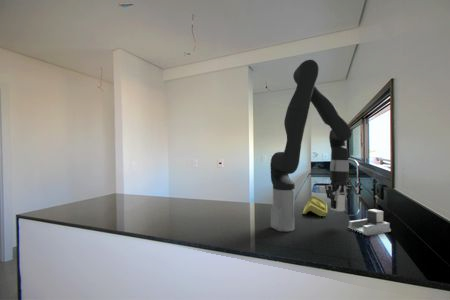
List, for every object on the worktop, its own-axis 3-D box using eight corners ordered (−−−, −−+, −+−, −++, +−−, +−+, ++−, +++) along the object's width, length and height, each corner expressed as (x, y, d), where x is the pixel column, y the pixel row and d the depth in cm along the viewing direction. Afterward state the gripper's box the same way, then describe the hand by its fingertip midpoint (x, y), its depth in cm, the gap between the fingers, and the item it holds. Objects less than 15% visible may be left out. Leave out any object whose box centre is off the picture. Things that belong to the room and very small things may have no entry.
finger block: (337, 211, 100) (338, 195, 101) (330, 209, 104) (331, 193, 104) (345, 210, 102) (346, 195, 102) (338, 208, 106) (338, 193, 106)
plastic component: (327, 213, 116) (308, 203, 119) (320, 225, 118) (301, 215, 121) (327, 202, 134) (310, 194, 137) (321, 213, 136) (305, 204, 139)
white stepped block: (367, 235, 92) (367, 215, 92) (347, 228, 100) (348, 210, 100) (390, 231, 97) (390, 212, 97) (370, 225, 105) (370, 207, 105)
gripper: (333, 170, 98) (332, 211, 97) (358, 170, 102) (357, 209, 102) (320, 169, 105) (319, 207, 104) (344, 169, 109) (343, 205, 109)
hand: (338, 208), depth 103 cm, fingers closed on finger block, 4 cm apart
